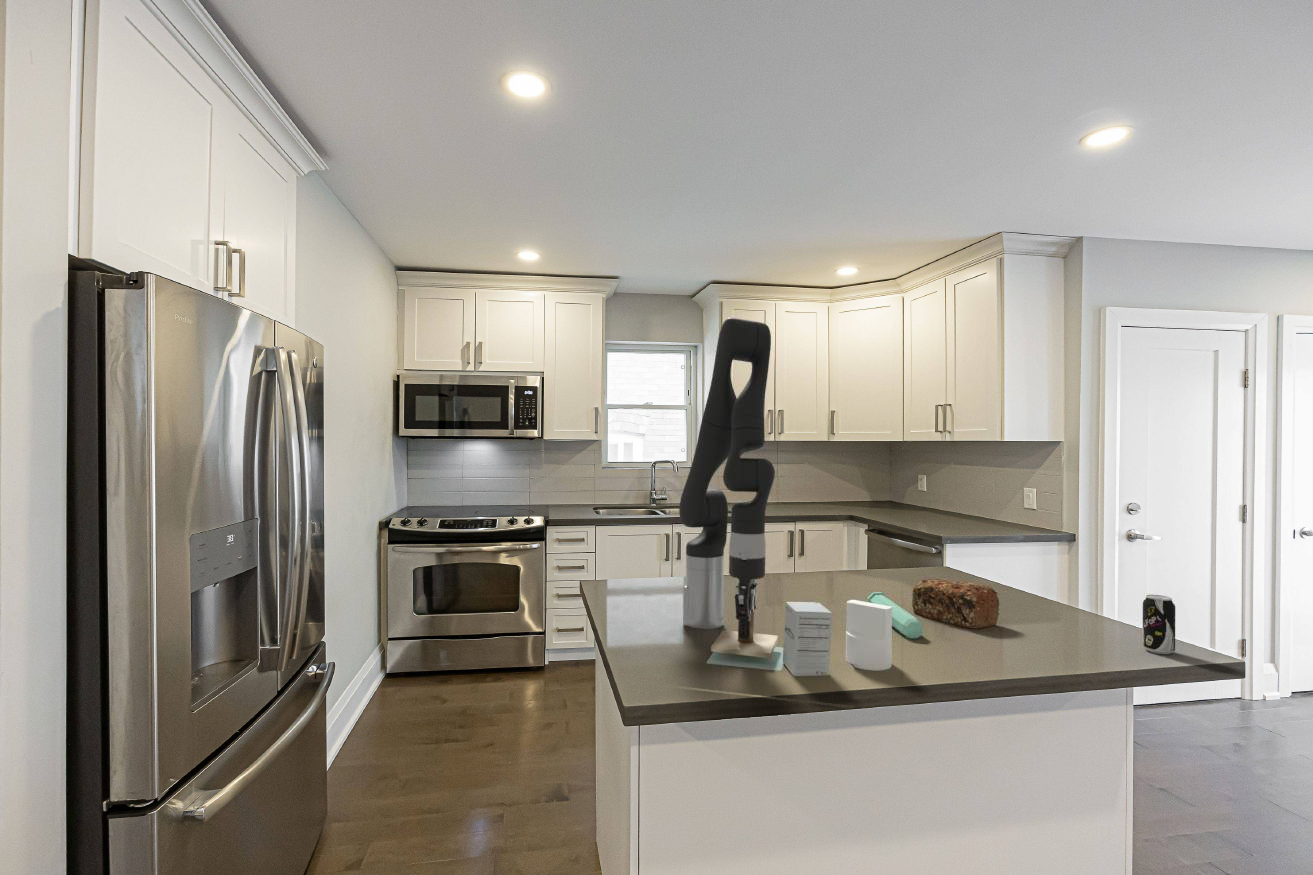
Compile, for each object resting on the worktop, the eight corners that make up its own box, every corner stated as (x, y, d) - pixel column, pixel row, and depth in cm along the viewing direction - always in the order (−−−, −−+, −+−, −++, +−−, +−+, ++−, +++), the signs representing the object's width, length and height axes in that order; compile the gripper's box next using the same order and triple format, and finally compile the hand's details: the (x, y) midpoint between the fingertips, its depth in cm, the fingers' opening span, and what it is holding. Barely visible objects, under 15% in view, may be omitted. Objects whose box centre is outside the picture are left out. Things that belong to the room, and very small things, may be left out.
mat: (706, 664, 136) (706, 662, 136) (720, 643, 150) (720, 641, 150) (781, 672, 132) (781, 670, 132) (788, 649, 146) (788, 647, 146)
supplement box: (781, 663, 136) (784, 600, 136) (817, 663, 137) (820, 601, 137) (791, 676, 129) (795, 610, 129) (829, 677, 129) (833, 611, 129)
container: (922, 613, 154) (883, 587, 179) (898, 623, 154) (862, 596, 179) (932, 637, 155) (891, 608, 180) (908, 647, 154) (871, 616, 179)
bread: (1000, 626, 167) (1000, 585, 167) (972, 631, 162) (972, 590, 162) (937, 609, 183) (937, 572, 183) (909, 613, 178) (909, 575, 178)
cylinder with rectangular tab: (837, 662, 138) (838, 604, 138) (858, 652, 145) (858, 596, 145) (880, 673, 132) (880, 612, 132) (899, 662, 138) (899, 604, 138)
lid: (711, 651, 137) (711, 616, 137) (723, 634, 149) (723, 602, 149) (770, 658, 134) (771, 622, 134) (777, 640, 145) (778, 607, 145)
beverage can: (1136, 649, 149) (1136, 594, 149) (1152, 646, 151) (1153, 592, 151) (1164, 657, 143) (1165, 600, 143) (1181, 653, 146) (1181, 598, 146)
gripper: (735, 546, 149) (734, 624, 149) (722, 558, 135) (721, 643, 136) (769, 549, 147) (768, 628, 147) (760, 561, 133) (758, 648, 133)
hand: (745, 635), depth 141 cm, fingers closed on lid, 3 cm apart
